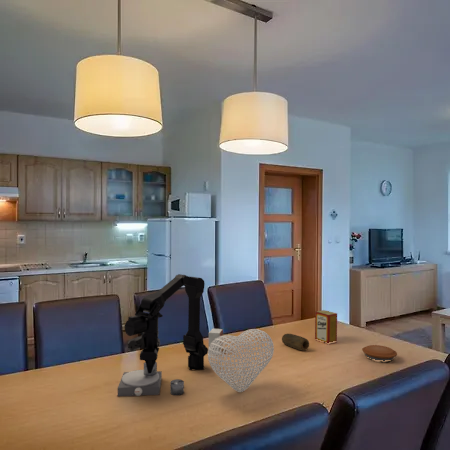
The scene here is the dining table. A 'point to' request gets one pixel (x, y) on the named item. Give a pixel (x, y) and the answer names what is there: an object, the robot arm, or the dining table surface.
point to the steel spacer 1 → (152, 370)
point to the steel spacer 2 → (177, 387)
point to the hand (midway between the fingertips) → (150, 370)
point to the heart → (233, 340)
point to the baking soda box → (326, 326)
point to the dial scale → (139, 384)
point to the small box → (213, 335)
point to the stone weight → (295, 341)
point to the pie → (379, 352)
